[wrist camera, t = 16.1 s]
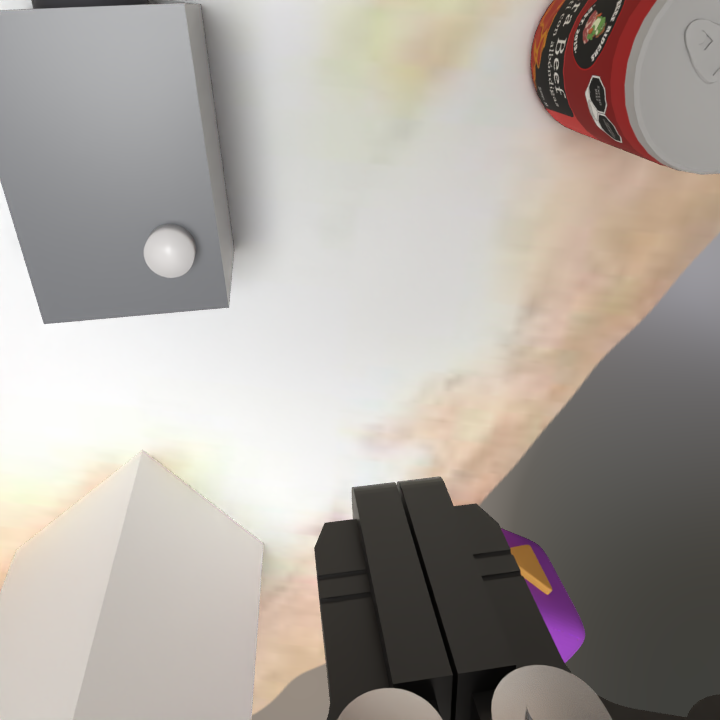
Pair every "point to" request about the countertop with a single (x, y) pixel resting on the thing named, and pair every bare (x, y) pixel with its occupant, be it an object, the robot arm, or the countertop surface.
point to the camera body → (114, 158)
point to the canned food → (635, 76)
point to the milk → (132, 607)
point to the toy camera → (548, 594)
